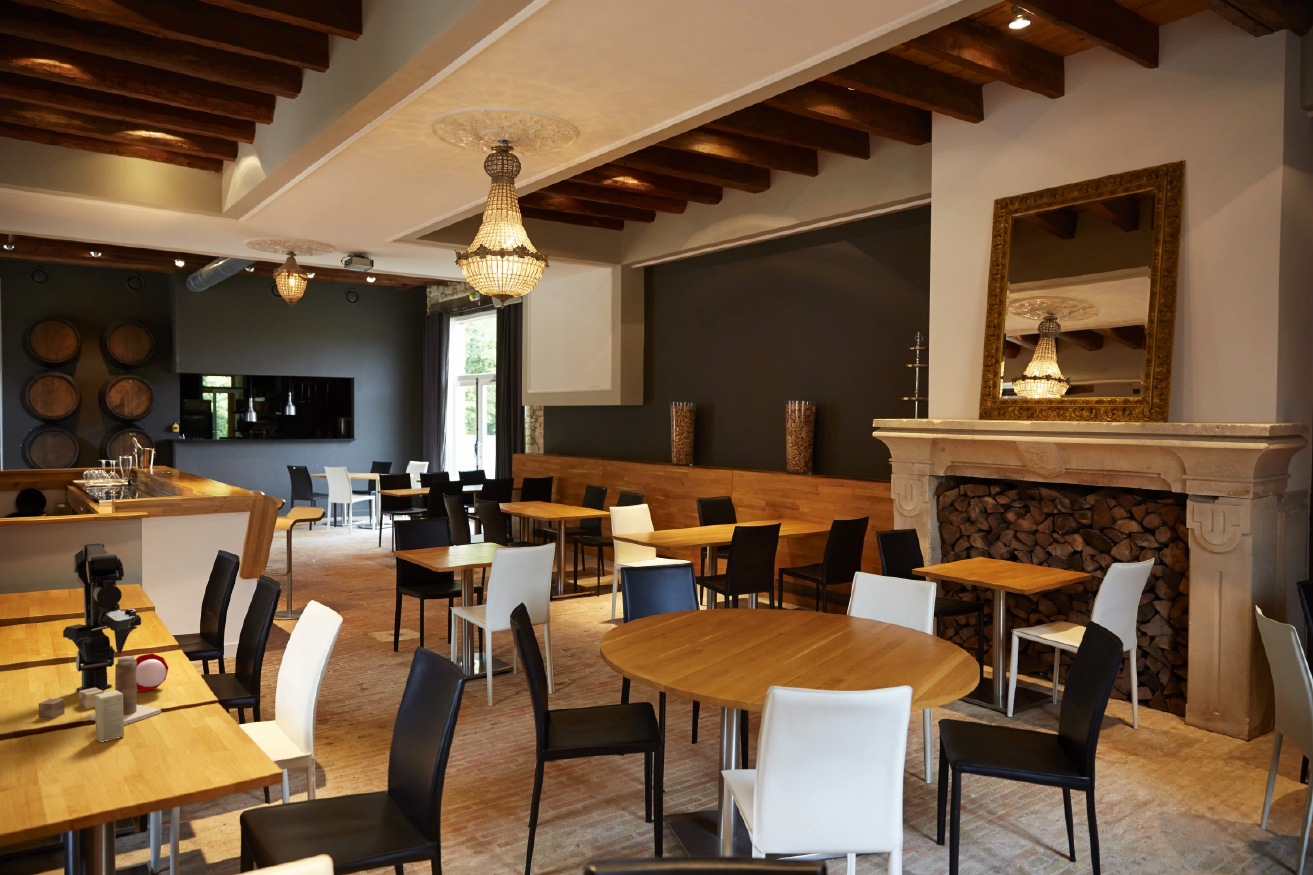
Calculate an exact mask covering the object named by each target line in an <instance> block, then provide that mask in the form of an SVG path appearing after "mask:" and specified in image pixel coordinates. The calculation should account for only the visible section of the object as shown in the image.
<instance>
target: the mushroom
mask: <svg viewBox="0 0 1313 875" xmlns="http://www.w3.org/2000/svg"><path fill="white" fill-rule="evenodd" d="M134 661H135V662H137V691H140V692H141V693H145V692H148V691H152V690H153V691H154V690H156V689H157V688H158V687H159V686H161V685H162V684H163V682H165V681H166V679H167V675H168V672H169V666H168V664H167V662H166V660H165V658H164V657H162V656H160V655H158V654H156V653H153V652H152V653H146V654H141V655H139V656H138V657H134ZM143 691H144V692H143Z"/></svg>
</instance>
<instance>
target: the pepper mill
mask: <svg viewBox="0 0 1313 875" xmlns="http://www.w3.org/2000/svg"><path fill="white" fill-rule="evenodd" d="M134 658H135V656H133V655H126V656H125V655H124V656H121V657H118V658H117V663H115V664H114V665H115V666H114V668H115V669H114V674H115V676H114V679H115V680H114V682H115V684H114V685H115V686H114V689H115V690H117V691H119V692H121V693H123V715H129V714H133V713H135V712H136V705H137V698H138V697H137V691H138V690H137V662H135V661H134ZM115 690H114V691H115Z"/></svg>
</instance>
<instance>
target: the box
mask: <svg viewBox="0 0 1313 875" xmlns="http://www.w3.org/2000/svg"><path fill="white" fill-rule="evenodd" d="M94 709H95V710H94V714H95V739H96V740H97V739H98V740H100V741H105V740H111V741H113V740H112V739H114V740H116V739H115V738H117V737H121V736H124V737H125V725H124V715H123V693H121V692H119V691H117V690H112V691H107V692H103V693H102V694H98V695H95V707H94ZM98 740H97V741H98ZM100 741H99V742H100Z"/></svg>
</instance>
